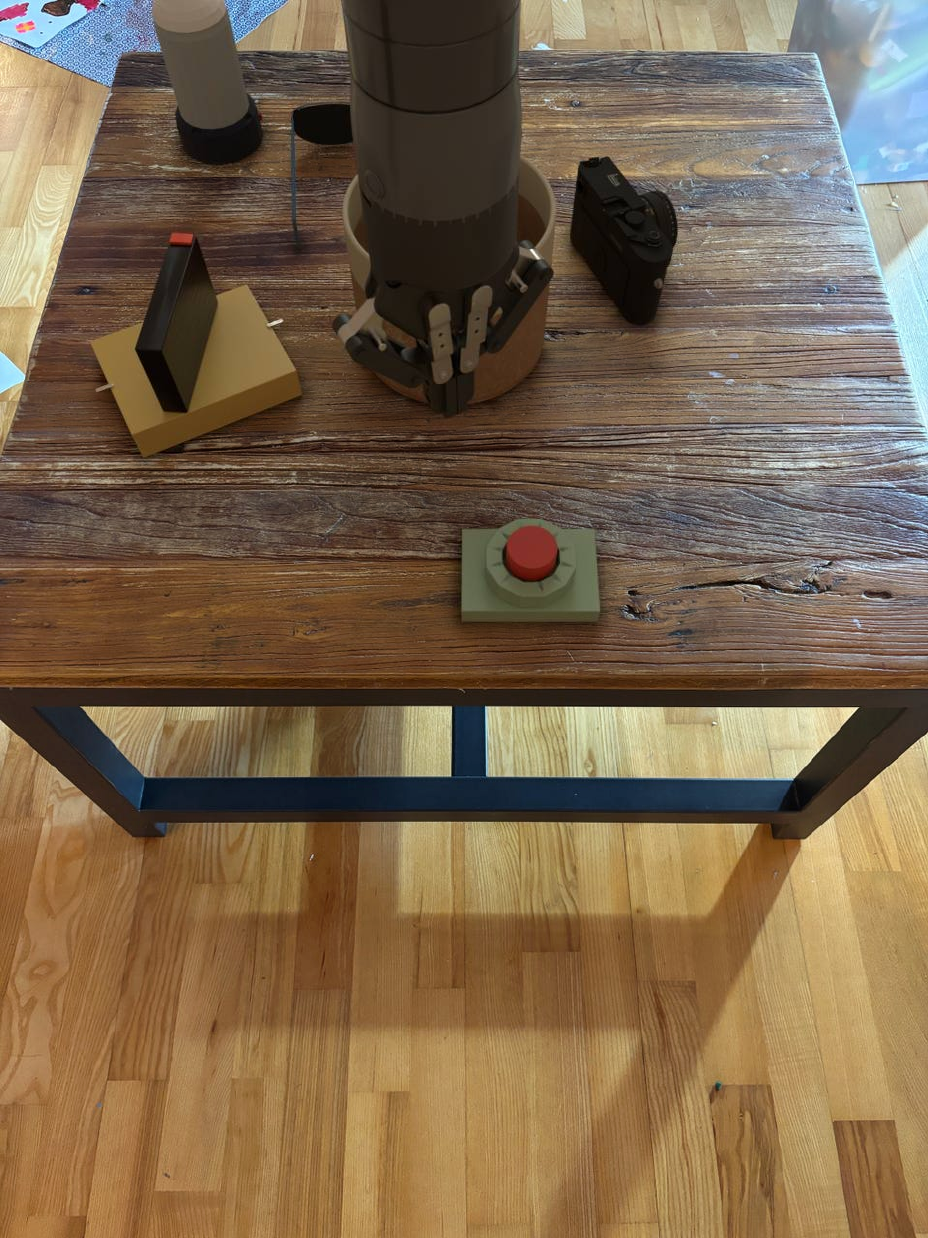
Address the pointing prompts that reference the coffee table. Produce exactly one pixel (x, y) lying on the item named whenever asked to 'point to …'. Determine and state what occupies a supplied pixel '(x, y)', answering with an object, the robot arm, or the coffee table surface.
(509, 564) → the button
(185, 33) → the humidifier
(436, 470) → the coffee table surface
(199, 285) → the block
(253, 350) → the plate
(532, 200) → the planter
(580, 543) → the button block
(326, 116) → the sunglasses
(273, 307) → the coffee table surface
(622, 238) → the camera
